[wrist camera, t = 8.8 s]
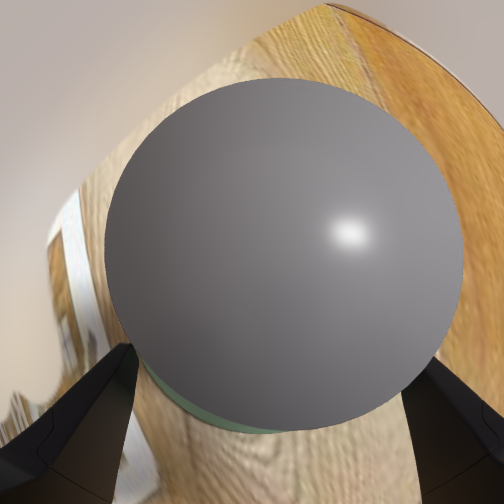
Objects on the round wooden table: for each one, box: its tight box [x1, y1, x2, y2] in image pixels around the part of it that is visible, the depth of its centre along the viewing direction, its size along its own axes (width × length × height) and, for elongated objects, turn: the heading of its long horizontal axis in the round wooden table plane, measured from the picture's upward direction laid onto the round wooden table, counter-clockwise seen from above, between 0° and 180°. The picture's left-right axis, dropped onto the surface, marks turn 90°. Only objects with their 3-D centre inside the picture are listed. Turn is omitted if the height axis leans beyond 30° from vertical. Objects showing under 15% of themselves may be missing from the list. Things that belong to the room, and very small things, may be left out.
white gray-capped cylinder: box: [105, 78, 464, 431], centre depth 10 cm, size 5×5×13 cm
